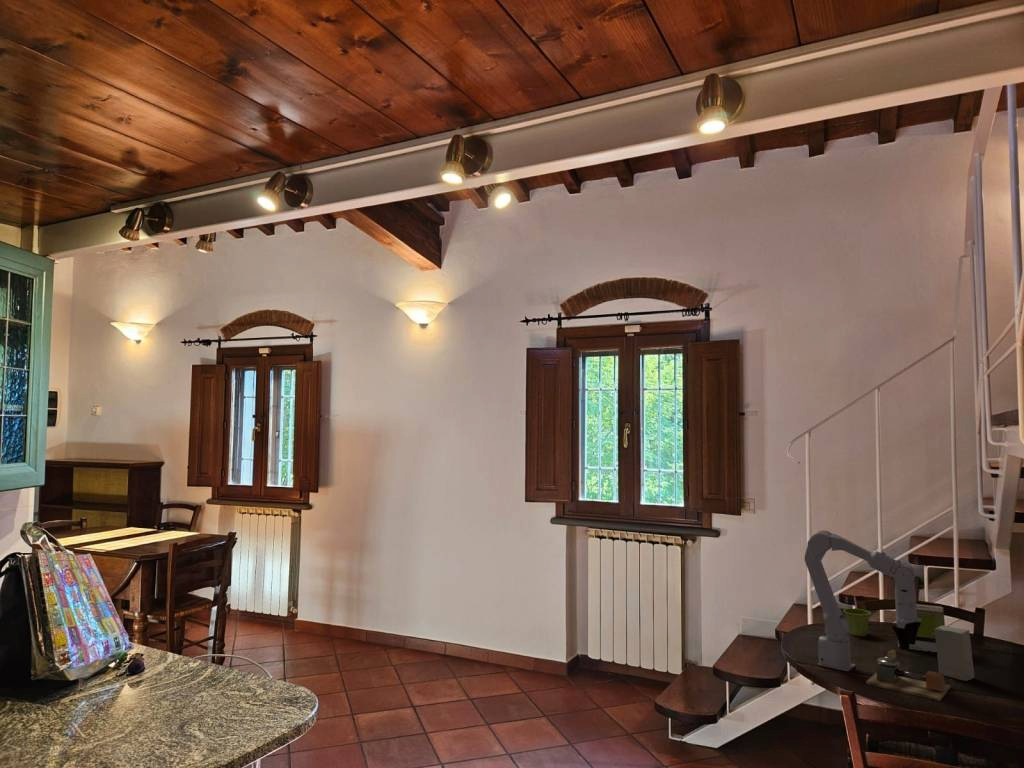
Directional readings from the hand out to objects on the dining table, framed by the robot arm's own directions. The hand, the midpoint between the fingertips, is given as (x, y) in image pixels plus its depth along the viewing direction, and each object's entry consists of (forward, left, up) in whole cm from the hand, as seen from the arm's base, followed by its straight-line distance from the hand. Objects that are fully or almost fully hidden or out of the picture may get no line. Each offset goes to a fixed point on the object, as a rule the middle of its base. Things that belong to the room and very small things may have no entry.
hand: (907, 646), depth 210 cm
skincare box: (+10, +13, -10) cm, 19 cm away
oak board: (+1, -7, -10) cm, 12 cm away
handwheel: (-4, -6, -4) cm, 8 cm away
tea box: (-5, +39, -10) cm, 41 cm away
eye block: (-4, -7, -10) cm, 13 cm away
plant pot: (-27, +41, -10) cm, 50 cm away
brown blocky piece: (+4, -7, -9) cm, 12 cm away
